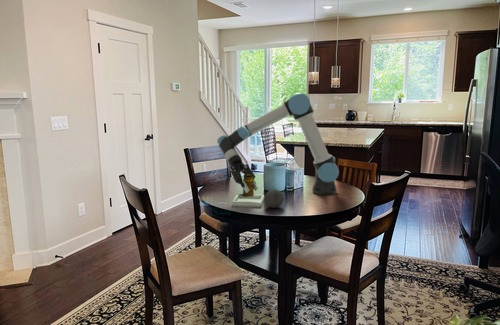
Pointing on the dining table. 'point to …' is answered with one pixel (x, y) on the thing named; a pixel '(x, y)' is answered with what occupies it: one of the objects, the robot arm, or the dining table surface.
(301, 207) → the dining table surface
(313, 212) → the dining table surface
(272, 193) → the decorative ball
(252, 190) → the condiment
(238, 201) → the sage tray
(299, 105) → the robot arm
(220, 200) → the dining table surface
